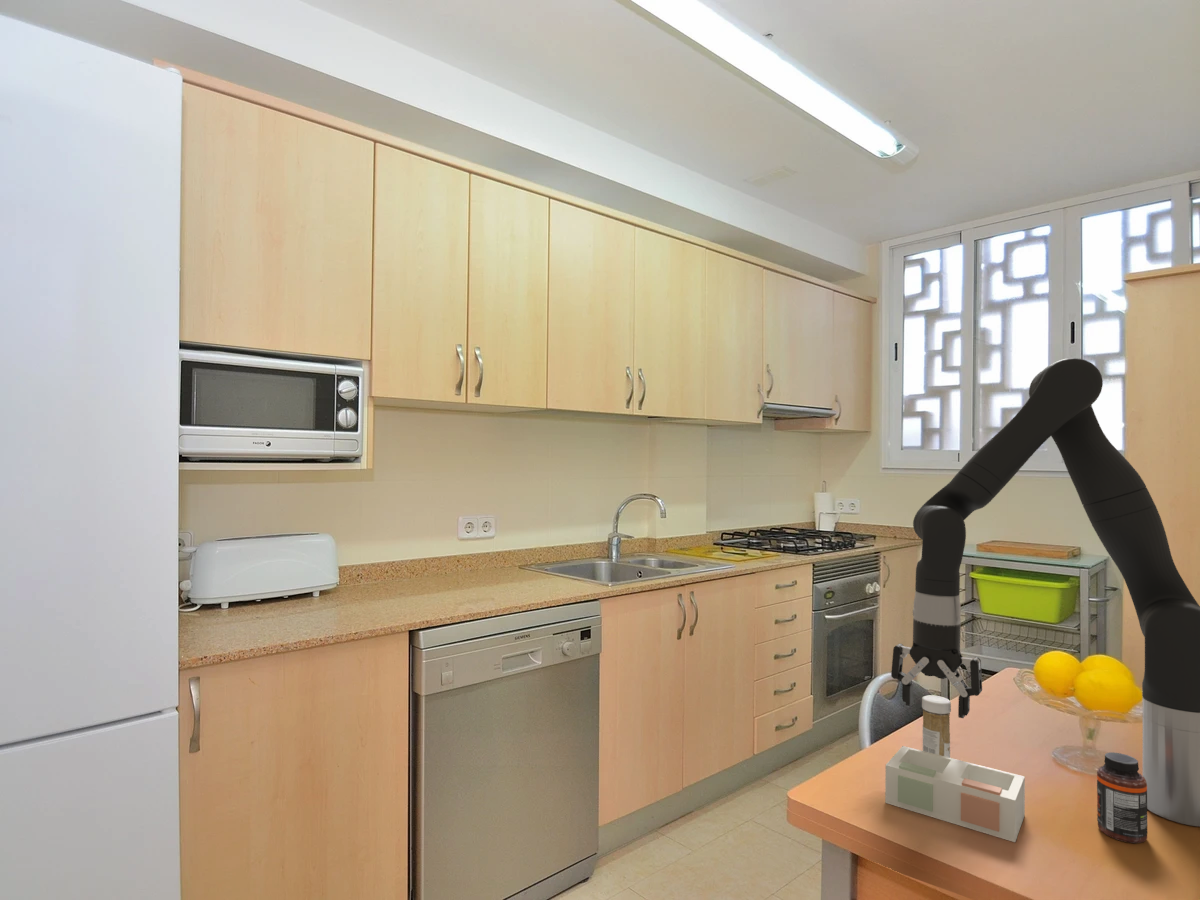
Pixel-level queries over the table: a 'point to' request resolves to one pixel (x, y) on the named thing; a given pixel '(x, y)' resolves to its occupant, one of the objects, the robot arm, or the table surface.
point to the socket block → (956, 792)
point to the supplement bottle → (1122, 799)
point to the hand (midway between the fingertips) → (934, 710)
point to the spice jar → (936, 725)
